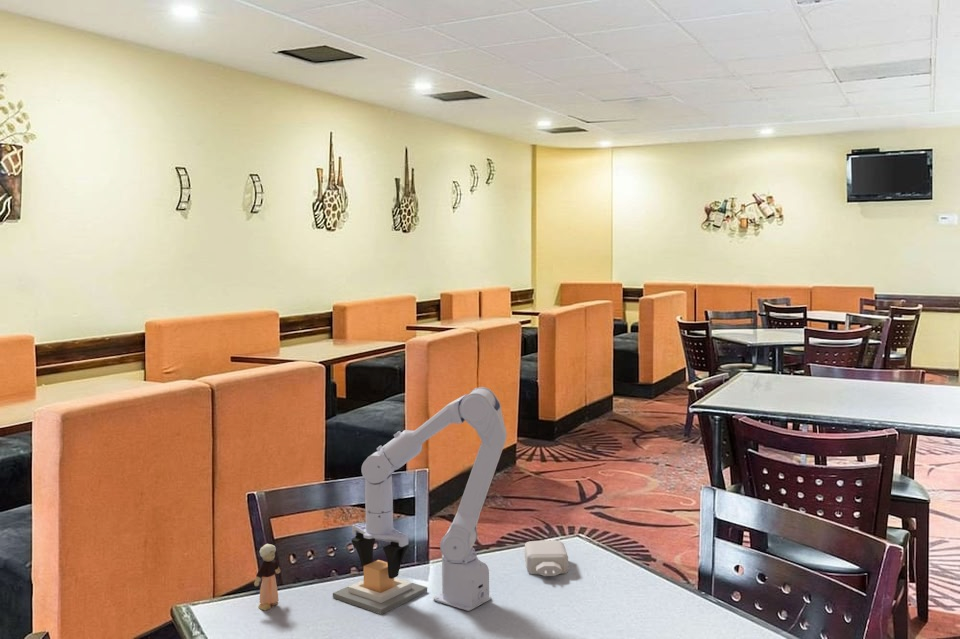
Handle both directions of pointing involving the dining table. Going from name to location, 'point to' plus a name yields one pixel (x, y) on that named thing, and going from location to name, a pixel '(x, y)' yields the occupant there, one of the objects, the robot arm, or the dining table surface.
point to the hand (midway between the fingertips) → (380, 573)
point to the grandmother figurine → (267, 577)
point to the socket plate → (380, 595)
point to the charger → (546, 558)
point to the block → (377, 576)
